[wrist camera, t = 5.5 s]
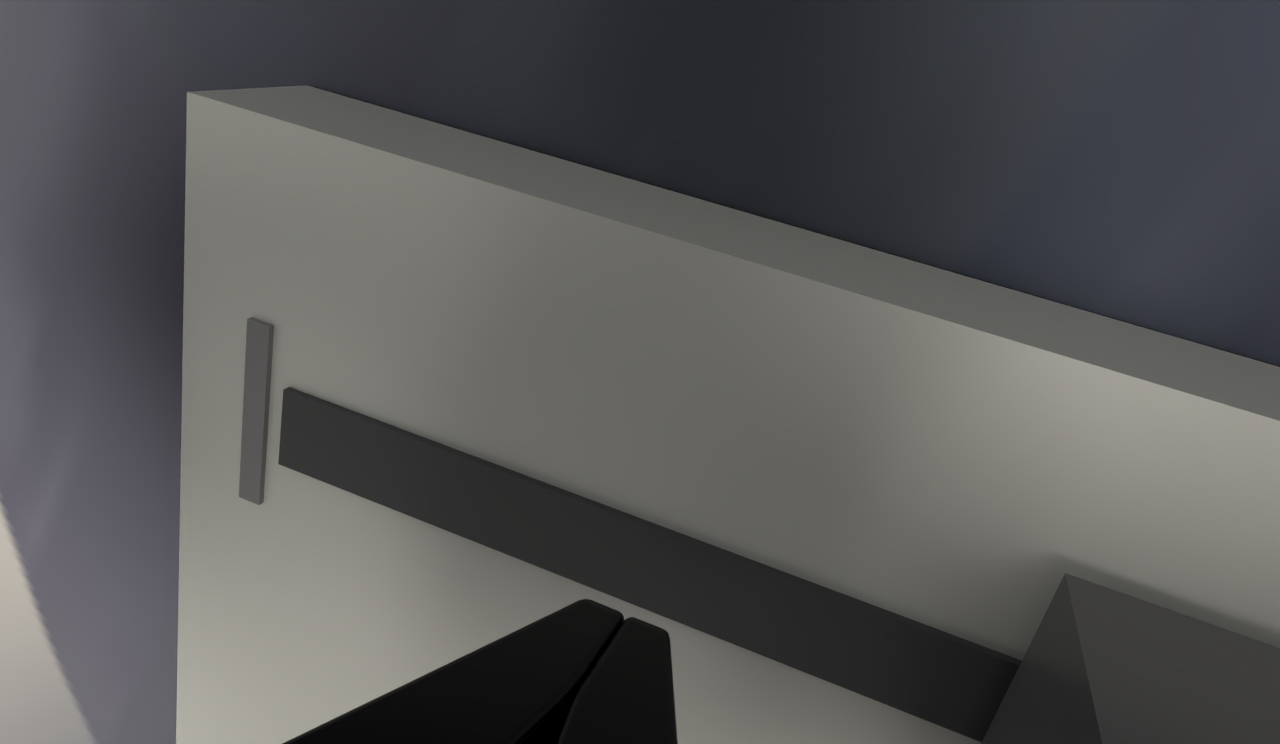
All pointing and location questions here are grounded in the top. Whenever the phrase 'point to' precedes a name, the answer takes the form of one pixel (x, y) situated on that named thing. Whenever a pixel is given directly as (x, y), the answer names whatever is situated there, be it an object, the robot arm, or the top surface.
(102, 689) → the top surface
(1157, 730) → the black fader
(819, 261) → the console
